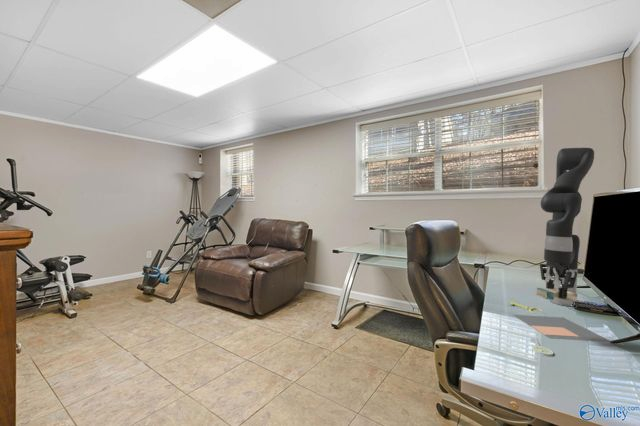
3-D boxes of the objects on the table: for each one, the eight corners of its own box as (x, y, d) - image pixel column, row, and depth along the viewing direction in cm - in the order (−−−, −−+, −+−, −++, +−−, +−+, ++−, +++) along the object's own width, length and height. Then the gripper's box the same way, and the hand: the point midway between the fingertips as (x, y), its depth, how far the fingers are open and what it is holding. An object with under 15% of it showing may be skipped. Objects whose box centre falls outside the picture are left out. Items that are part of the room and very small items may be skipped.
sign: (544, 336, 93) (555, 356, 80) (544, 338, 93) (554, 358, 80) (525, 332, 96) (533, 350, 83) (525, 335, 96) (532, 353, 83)
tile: (564, 296, 98) (565, 289, 98) (576, 300, 93) (577, 293, 93) (536, 294, 99) (536, 287, 99) (546, 299, 94) (546, 292, 94)
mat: (512, 315, 111) (512, 314, 111) (563, 318, 109) (563, 317, 109) (549, 339, 91) (549, 337, 91) (612, 343, 90) (612, 341, 89)
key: (509, 305, 124) (509, 300, 124) (543, 312, 117) (543, 307, 117) (508, 310, 119) (509, 305, 119) (545, 317, 111) (545, 312, 111)
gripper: (587, 252, 88) (585, 303, 89) (553, 246, 103) (551, 290, 103) (563, 251, 89) (561, 302, 89) (532, 245, 103) (530, 289, 104)
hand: (555, 295), depth 96 cm, fingers closed on tile, 5 cm apart
